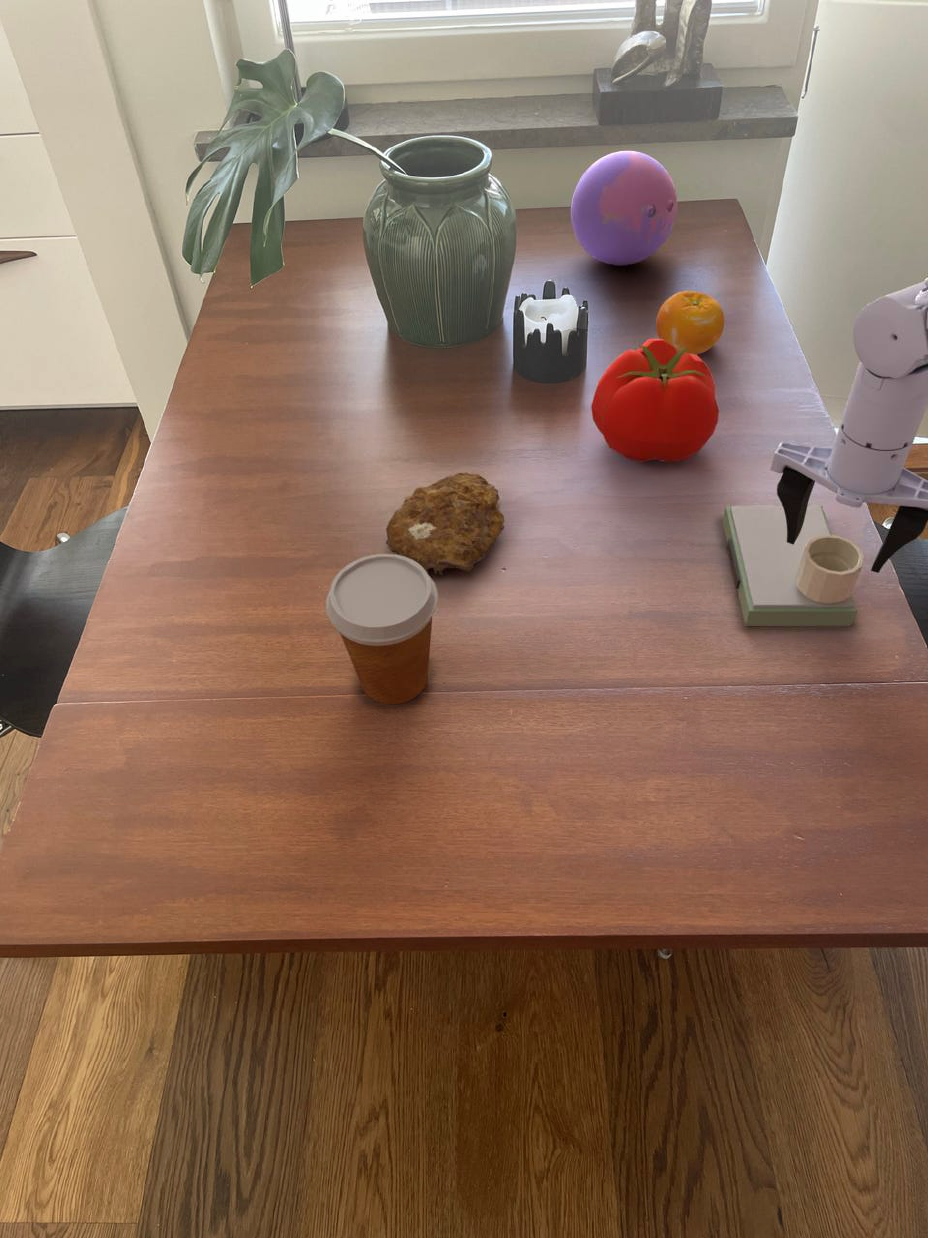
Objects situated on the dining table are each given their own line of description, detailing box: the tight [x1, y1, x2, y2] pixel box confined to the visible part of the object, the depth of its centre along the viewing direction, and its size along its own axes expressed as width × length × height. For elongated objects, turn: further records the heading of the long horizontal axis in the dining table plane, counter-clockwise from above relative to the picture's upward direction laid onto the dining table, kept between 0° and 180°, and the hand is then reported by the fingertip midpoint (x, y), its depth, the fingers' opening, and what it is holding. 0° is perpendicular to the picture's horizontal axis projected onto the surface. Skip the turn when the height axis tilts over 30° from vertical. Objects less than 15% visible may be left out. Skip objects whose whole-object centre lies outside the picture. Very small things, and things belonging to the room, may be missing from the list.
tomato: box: [590, 338, 720, 463], centre depth 103 cm, size 13×14×12 cm
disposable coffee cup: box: [325, 553, 439, 705], centre depth 82 cm, size 10×10×12 cm
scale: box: [721, 504, 858, 627], centre depth 92 cm, size 15×10×3 cm
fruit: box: [655, 290, 725, 355], centre depth 119 cm, size 8×9×8 cm
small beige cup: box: [795, 534, 865, 604], centre depth 86 cm, size 5×5×4 cm
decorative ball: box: [570, 150, 678, 266], centre depth 132 cm, size 15×15×15 cm
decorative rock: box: [385, 472, 506, 576], centre depth 98 cm, size 11×4×15 cm
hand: (834, 550), depth 84 cm, fingers open, 7 cm apart
